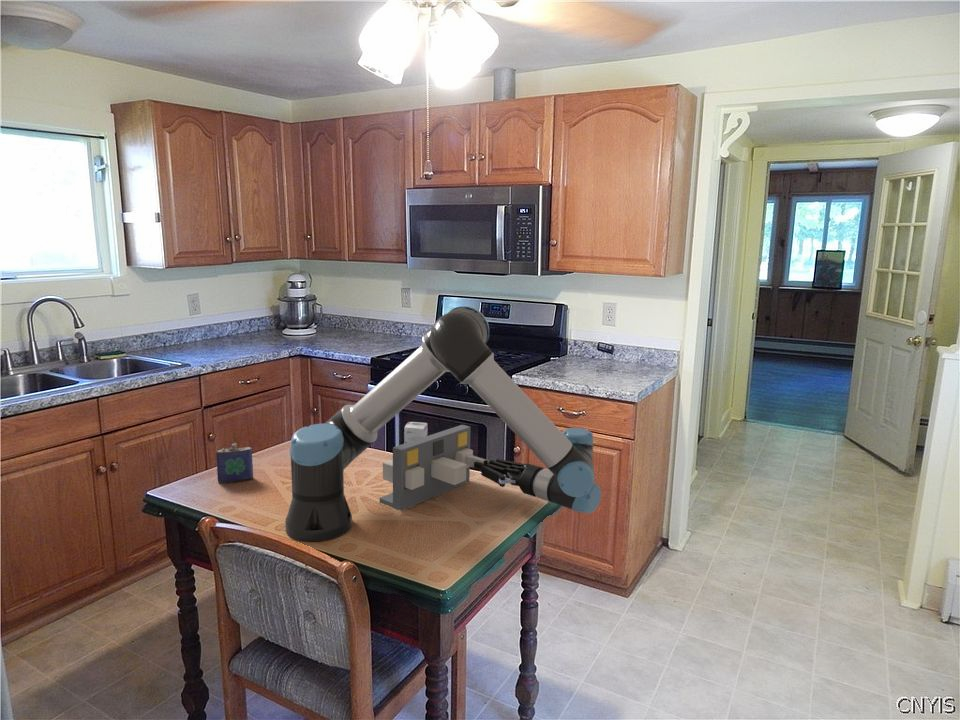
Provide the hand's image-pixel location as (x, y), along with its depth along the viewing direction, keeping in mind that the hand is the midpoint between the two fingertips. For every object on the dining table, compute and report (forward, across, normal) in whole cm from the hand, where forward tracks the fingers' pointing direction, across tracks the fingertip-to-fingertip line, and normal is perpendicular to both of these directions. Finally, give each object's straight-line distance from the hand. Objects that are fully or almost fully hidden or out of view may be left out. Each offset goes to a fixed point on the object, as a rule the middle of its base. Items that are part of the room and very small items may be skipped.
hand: (468, 460), depth 173 cm
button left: (+6, -19, -2) cm, 20 cm away
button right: (+6, 0, -2) cm, 6 cm away
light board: (+6, -10, -8) cm, 14 cm away
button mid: (0, -9, -2) cm, 10 cm away
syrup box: (+19, -2, -8) cm, 20 cm away
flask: (+51, -40, -8) cm, 65 cm away
